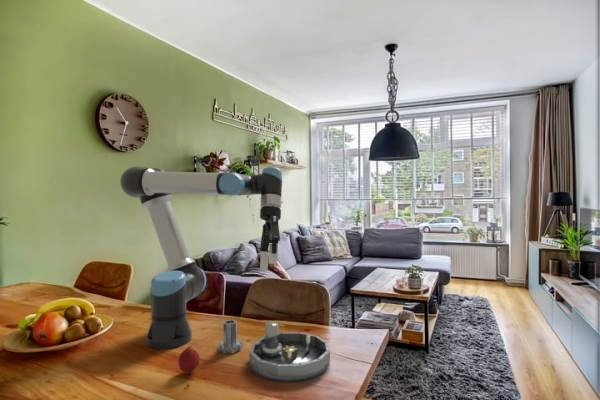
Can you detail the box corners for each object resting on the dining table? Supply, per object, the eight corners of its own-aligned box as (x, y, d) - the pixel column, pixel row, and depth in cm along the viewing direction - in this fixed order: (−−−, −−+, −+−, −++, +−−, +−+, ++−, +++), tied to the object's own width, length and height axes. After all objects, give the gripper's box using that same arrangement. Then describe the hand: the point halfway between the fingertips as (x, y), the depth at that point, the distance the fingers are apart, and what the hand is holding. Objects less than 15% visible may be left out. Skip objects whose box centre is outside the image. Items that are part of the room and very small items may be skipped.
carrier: (245, 383, 97) (244, 344, 97) (255, 345, 121) (254, 315, 121) (333, 381, 98) (333, 343, 97) (325, 344, 122) (325, 314, 121)
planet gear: (216, 354, 115) (216, 326, 115) (221, 344, 123) (221, 318, 123) (240, 353, 115) (239, 325, 115) (243, 343, 123) (243, 317, 123)
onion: (193, 379, 100) (192, 350, 100) (174, 377, 101) (174, 349, 101) (203, 369, 105) (202, 342, 105) (185, 367, 106) (184, 340, 106)
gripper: (290, 198, 120) (288, 261, 113) (272, 218, 143) (270, 272, 136) (268, 196, 118) (265, 260, 111) (253, 216, 141) (250, 271, 134)
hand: (268, 267), depth 123 cm, fingers open, 13 cm apart
